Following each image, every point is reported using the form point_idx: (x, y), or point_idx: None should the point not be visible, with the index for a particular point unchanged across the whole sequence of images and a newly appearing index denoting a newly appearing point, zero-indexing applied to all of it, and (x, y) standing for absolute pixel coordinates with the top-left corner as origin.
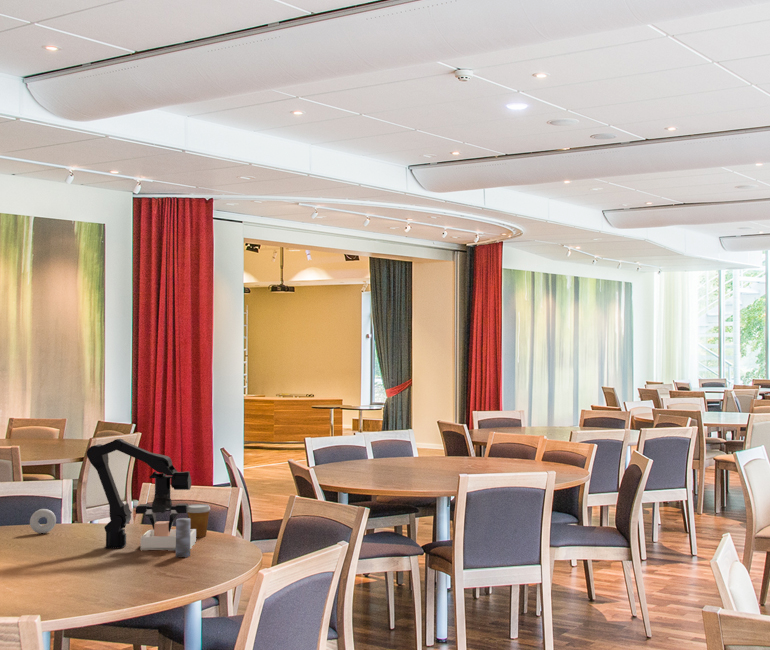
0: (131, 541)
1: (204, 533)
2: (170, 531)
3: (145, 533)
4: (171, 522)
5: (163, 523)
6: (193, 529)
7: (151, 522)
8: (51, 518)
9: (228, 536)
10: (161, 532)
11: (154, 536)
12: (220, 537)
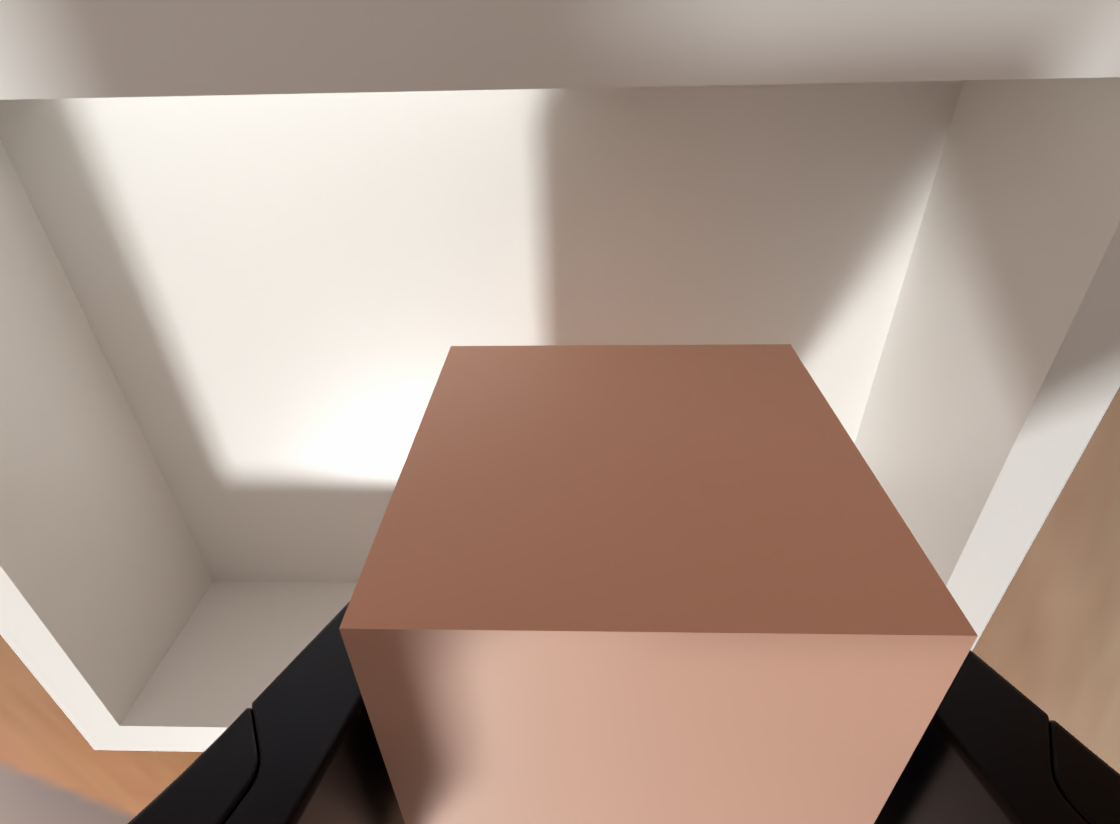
0: (1035, 667)
1: None
2: None
3: (1025, 518)
4: (245, 740)
5: (553, 672)
6: (120, 732)
7: (1099, 765)
8: None
9: (17, 754)
10: (609, 407)
11: (800, 68)
12: (70, 731)
